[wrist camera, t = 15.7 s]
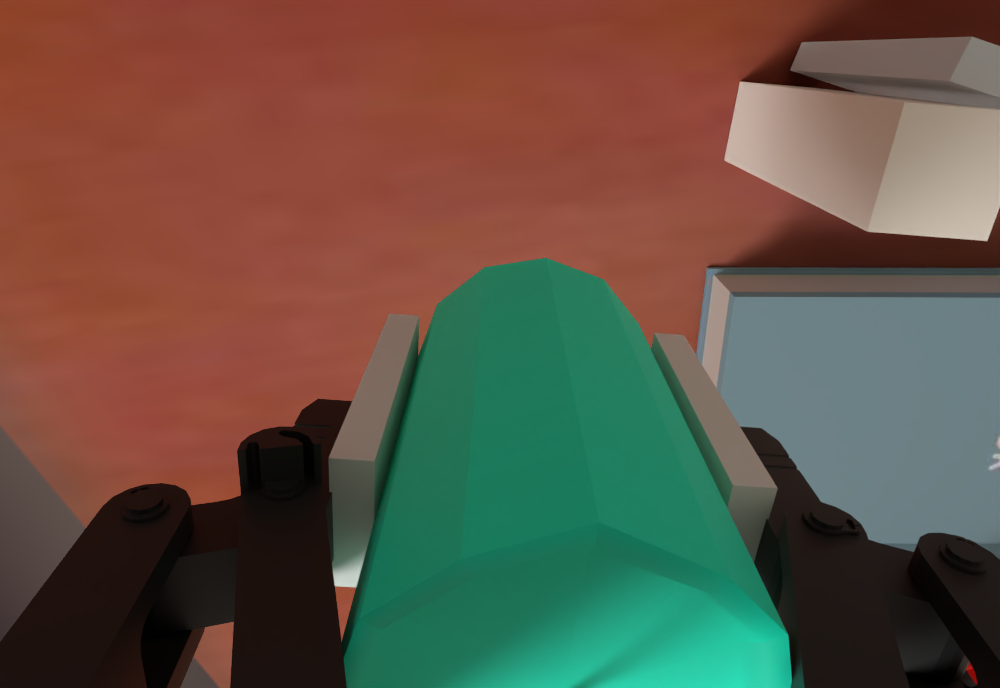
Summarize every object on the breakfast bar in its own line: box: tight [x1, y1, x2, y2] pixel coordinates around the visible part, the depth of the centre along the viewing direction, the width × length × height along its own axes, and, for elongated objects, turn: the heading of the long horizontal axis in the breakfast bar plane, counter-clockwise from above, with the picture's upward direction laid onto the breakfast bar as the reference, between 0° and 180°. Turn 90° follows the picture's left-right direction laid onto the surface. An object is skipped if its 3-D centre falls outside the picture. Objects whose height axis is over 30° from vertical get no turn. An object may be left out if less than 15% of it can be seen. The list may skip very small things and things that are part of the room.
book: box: [696, 267, 1000, 559], centre depth 36 cm, size 23×16×5 cm
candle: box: [342, 258, 792, 688], centre depth 13 cm, size 6×6×12 cm
